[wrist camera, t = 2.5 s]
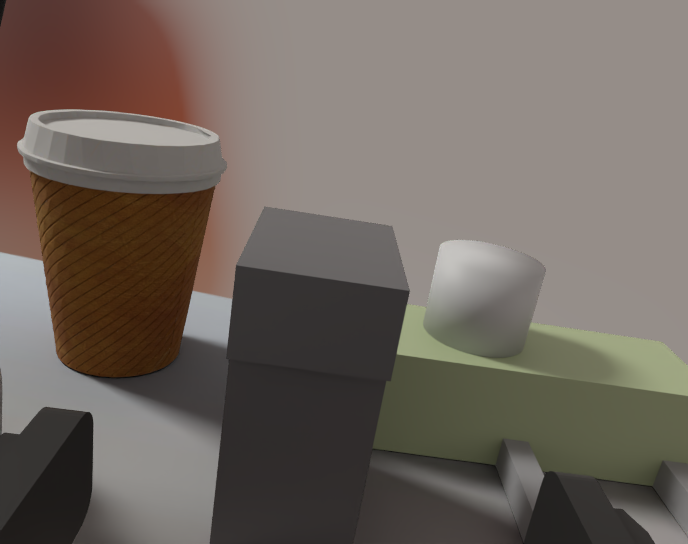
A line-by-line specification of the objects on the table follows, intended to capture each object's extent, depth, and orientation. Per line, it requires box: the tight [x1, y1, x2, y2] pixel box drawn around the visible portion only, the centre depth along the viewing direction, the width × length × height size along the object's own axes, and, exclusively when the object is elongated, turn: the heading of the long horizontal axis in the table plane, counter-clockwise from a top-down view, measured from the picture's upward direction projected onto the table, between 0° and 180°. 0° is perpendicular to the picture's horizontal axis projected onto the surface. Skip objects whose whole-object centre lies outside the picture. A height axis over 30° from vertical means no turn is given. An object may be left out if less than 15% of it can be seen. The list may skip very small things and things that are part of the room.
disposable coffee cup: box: [17, 110, 227, 377], centre depth 32 cm, size 10×10×12 cm
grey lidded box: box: [210, 207, 410, 544], centre depth 23 cm, size 5×7×11 cm
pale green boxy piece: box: [372, 240, 688, 543], centre depth 27 cm, size 16×14×9 cm
